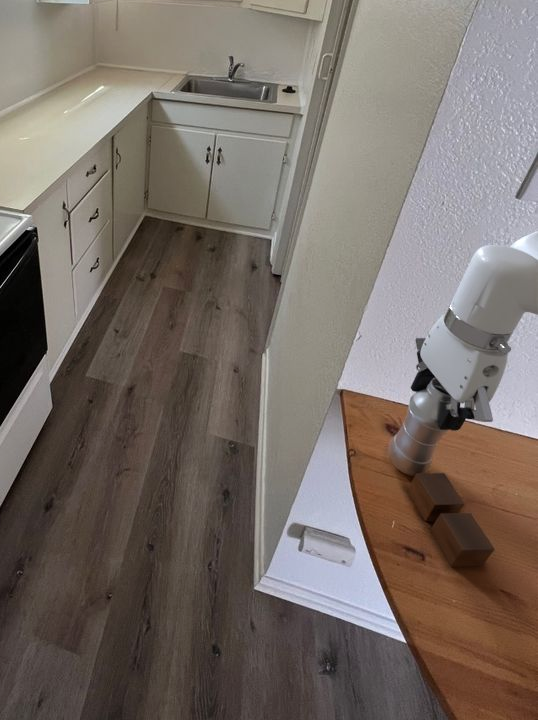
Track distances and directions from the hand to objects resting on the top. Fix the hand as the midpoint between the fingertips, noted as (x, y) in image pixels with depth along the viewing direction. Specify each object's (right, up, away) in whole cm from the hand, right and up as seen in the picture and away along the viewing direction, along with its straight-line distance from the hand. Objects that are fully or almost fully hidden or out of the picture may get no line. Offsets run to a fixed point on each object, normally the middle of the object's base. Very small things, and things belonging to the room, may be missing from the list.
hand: (433, 407), depth 70 cm
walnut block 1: (0, -17, +1) cm, 17 cm away
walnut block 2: (0, -19, -5) cm, 20 cm away
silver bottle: (0, -13, +7) cm, 15 cm away
